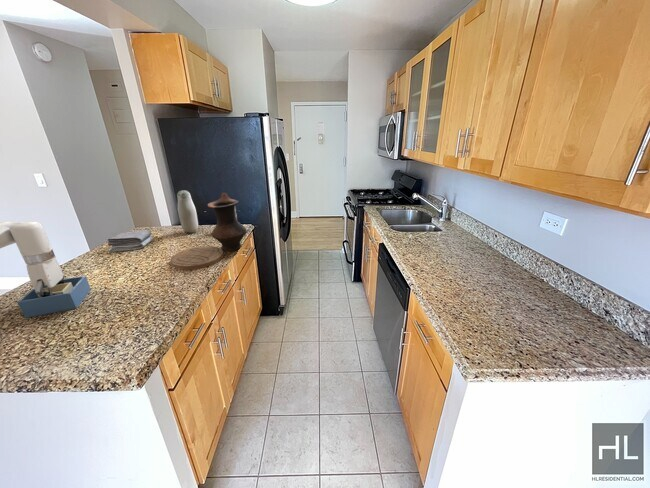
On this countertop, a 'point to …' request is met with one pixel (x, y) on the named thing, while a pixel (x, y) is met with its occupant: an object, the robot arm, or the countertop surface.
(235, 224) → the jug
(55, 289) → the cream bin
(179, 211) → the white rounded column
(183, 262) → the trivet
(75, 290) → the blue bin
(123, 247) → the towel
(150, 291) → the countertop surface
